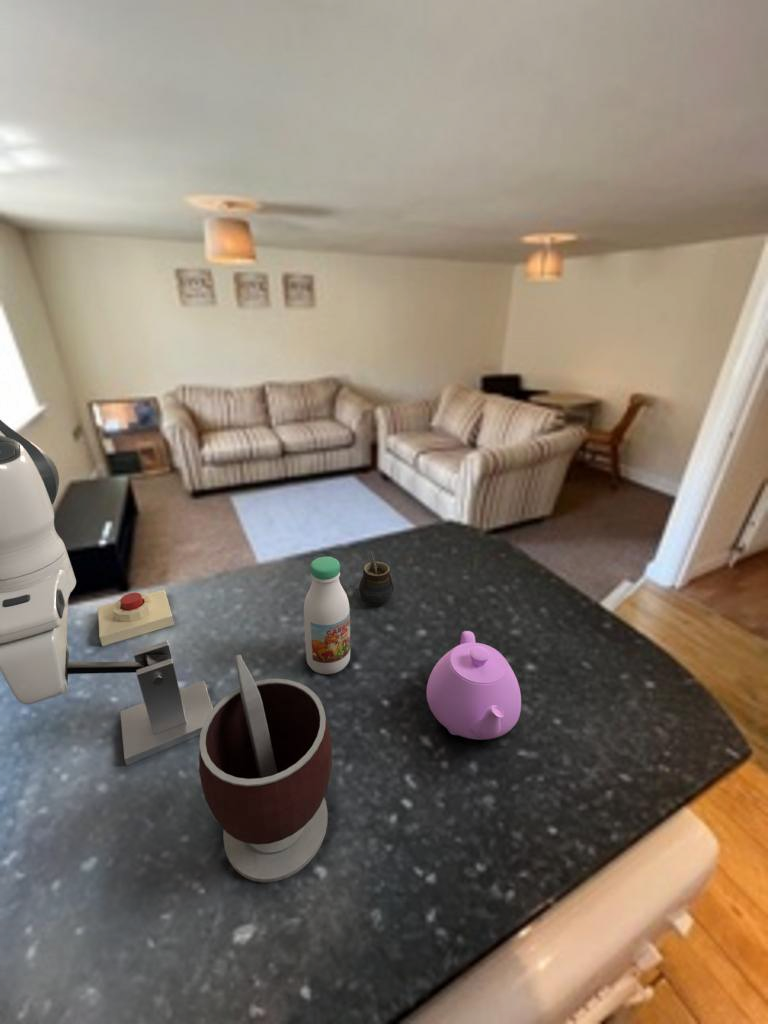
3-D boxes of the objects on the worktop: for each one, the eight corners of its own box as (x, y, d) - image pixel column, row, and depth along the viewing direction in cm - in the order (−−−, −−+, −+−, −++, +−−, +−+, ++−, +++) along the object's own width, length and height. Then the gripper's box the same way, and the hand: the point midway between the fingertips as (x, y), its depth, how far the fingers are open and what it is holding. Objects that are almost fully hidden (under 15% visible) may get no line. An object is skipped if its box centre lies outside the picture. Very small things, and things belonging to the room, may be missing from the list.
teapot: (539, 778, 60) (556, 715, 55) (434, 780, 60) (442, 716, 54) (499, 668, 78) (510, 612, 73) (419, 668, 78) (424, 612, 73)
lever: (46, 690, 53) (51, 673, 53) (49, 663, 57) (53, 647, 56) (166, 685, 61) (171, 671, 61) (161, 662, 65) (165, 648, 65)
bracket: (126, 765, 60) (103, 697, 55) (121, 717, 67) (101, 652, 62) (218, 727, 66) (205, 661, 61) (205, 686, 73) (192, 623, 68)
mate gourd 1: (354, 842, 53) (354, 724, 44) (236, 922, 46) (208, 800, 37) (301, 742, 64) (293, 633, 56) (201, 793, 57) (173, 677, 49)
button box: (102, 646, 81) (96, 629, 79) (100, 615, 88) (95, 599, 86) (174, 625, 86) (170, 608, 85) (166, 597, 94) (162, 581, 92)
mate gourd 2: (368, 614, 91) (369, 573, 86) (352, 595, 96) (351, 555, 92) (399, 604, 94) (401, 563, 90) (381, 585, 100) (382, 547, 96)
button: (122, 613, 83) (120, 605, 83) (121, 603, 86) (119, 595, 85) (144, 607, 85) (142, 600, 84) (142, 597, 88) (140, 590, 87)
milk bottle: (298, 667, 77) (290, 569, 69) (320, 639, 84) (316, 546, 75) (337, 681, 75) (335, 581, 66) (357, 651, 81) (357, 556, 73)
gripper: (2, 546, 56) (36, 633, 62) (-29, 646, 40) (21, 749, 46) (62, 535, 59) (89, 619, 65) (55, 623, 43) (92, 723, 49)
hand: (61, 674), depth 56 cm, fingers closed on lever, 5 cm apart
